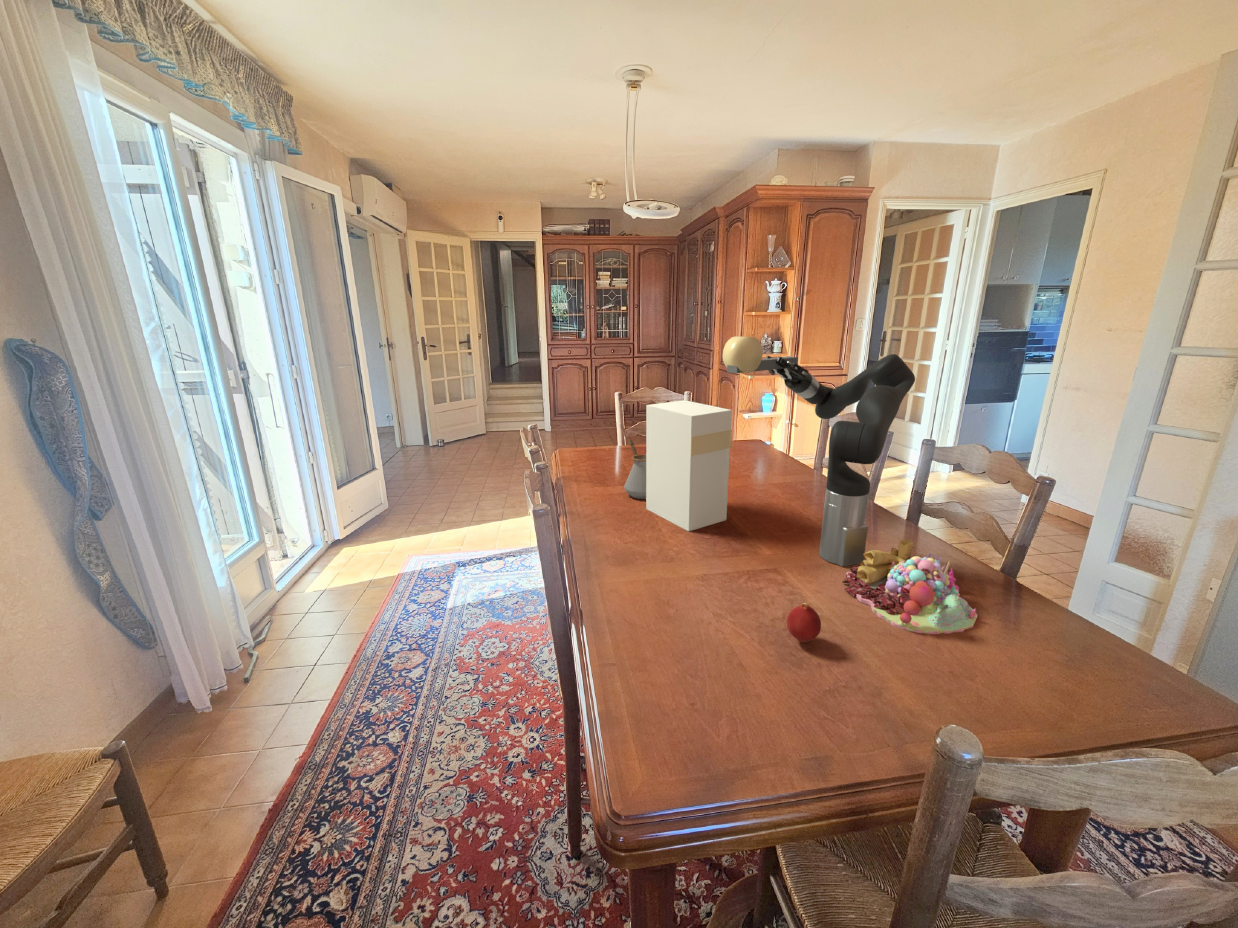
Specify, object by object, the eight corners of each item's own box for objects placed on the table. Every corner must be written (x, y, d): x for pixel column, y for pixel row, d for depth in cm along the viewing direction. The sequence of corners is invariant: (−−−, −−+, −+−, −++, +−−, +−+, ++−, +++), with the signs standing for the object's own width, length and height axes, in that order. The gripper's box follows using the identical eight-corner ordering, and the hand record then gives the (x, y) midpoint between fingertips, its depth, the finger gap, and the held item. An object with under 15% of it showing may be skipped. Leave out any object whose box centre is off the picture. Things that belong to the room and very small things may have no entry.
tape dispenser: (736, 374, 144) (738, 337, 141) (722, 372, 149) (723, 337, 146) (800, 367, 157) (802, 334, 155) (784, 365, 162) (786, 333, 159)
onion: (792, 627, 96) (796, 590, 94) (823, 639, 92) (828, 600, 90) (780, 642, 92) (783, 604, 89) (812, 655, 88) (816, 615, 86)
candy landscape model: (821, 580, 113) (825, 542, 110) (900, 561, 121) (906, 526, 118) (920, 646, 91) (928, 601, 88) (1010, 618, 98) (1020, 575, 96)
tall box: (689, 531, 138) (692, 416, 129) (646, 508, 155) (646, 405, 146) (727, 520, 145) (732, 410, 136) (682, 499, 162) (684, 400, 153)
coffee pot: (663, 499, 163) (664, 454, 158) (628, 502, 160) (628, 456, 156) (646, 478, 183) (646, 438, 178) (615, 481, 180) (614, 440, 176)
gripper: (789, 370, 170) (759, 346, 160) (825, 374, 158) (796, 348, 148) (779, 391, 170) (749, 368, 160) (815, 396, 158) (785, 372, 148)
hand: (772, 359), depth 154 cm, fingers closed on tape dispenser, 4 cm apart
